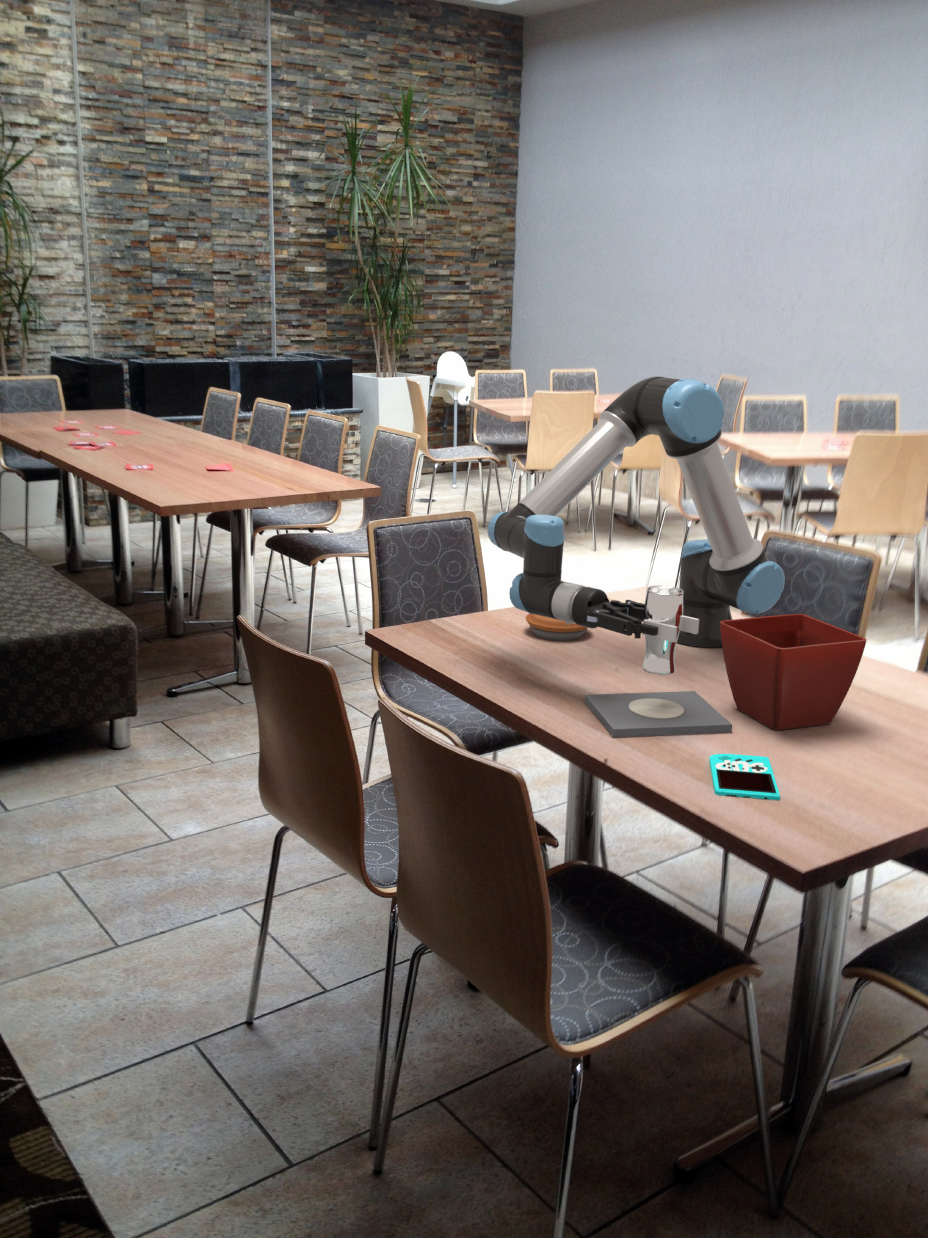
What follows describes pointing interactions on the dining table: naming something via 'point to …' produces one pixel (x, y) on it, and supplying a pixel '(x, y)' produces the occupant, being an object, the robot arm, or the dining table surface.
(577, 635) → the pie
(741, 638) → the plant pot
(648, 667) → the beer glass
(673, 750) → the dining table surface
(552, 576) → the robot arm
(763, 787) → the handheld game console
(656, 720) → the serving board
